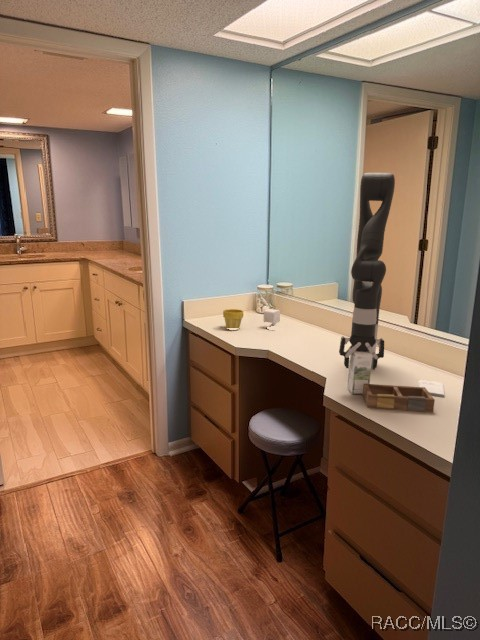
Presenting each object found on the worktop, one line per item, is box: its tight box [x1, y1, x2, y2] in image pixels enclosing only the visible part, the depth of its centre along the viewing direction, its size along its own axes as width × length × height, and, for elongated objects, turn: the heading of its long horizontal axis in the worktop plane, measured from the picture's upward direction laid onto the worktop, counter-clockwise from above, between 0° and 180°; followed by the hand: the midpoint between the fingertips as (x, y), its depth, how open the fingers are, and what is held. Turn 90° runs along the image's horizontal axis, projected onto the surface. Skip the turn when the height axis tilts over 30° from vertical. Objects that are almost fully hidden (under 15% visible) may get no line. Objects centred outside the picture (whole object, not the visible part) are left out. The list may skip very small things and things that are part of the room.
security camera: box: [263, 308, 281, 327], centre depth 236 cm, size 6×7×10 cm
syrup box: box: [347, 349, 372, 395], centre depth 152 cm, size 6×6×14 cm
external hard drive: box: [417, 379, 446, 398], centre depth 157 cm, size 2×8×12 cm
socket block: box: [362, 383, 436, 413], centre depth 144 cm, size 11×20×4 cm, turn 83°
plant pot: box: [222, 308, 244, 329], centre depth 234 cm, size 10×10×10 cm
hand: (359, 368), depth 151 cm, fingers open, 8 cm apart
